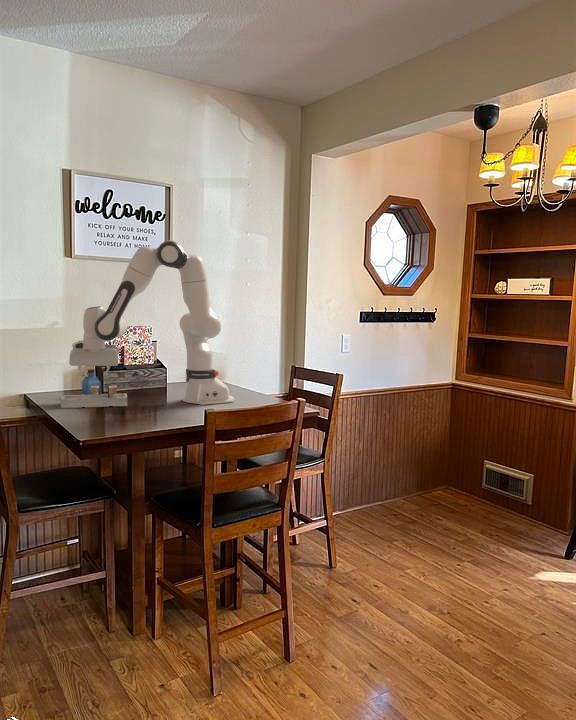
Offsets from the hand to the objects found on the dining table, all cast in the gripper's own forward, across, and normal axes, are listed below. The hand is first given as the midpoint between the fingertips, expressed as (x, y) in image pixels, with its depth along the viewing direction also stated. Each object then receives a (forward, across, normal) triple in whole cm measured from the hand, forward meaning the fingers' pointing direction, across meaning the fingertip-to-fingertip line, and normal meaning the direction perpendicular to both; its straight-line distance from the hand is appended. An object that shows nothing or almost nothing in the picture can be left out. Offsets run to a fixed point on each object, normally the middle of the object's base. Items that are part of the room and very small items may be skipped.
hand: (94, 375), depth 248 cm
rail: (+11, 0, +9) cm, 14 cm away
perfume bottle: (+11, +1, -10) cm, 15 cm away
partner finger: (+9, -8, +9) cm, 15 cm away
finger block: (+11, -1, 0) cm, 11 cm away
